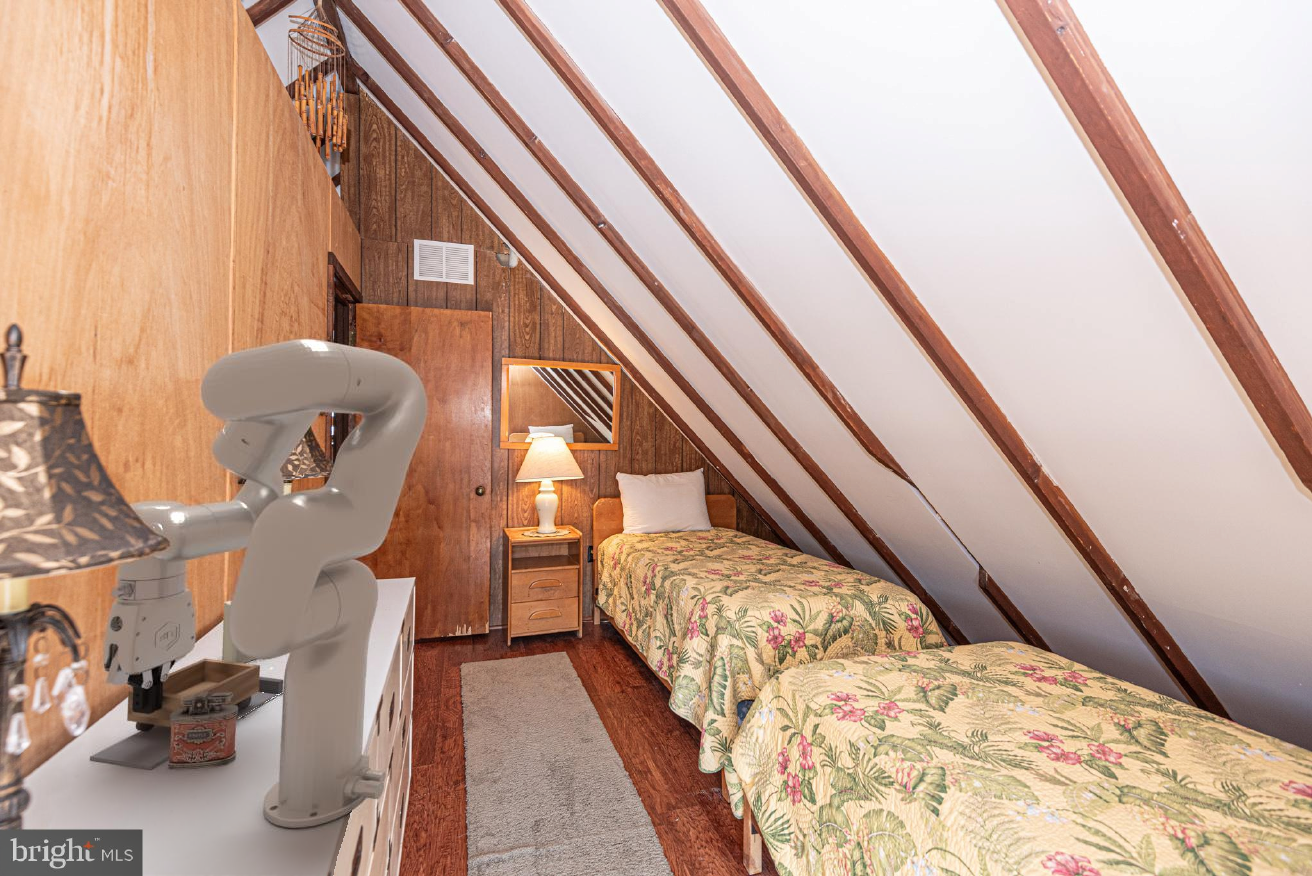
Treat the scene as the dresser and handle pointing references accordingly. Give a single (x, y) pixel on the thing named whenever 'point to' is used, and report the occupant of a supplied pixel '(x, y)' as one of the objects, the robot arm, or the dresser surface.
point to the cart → (200, 688)
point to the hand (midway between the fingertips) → (147, 710)
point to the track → (156, 742)
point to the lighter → (203, 732)
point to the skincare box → (230, 642)
